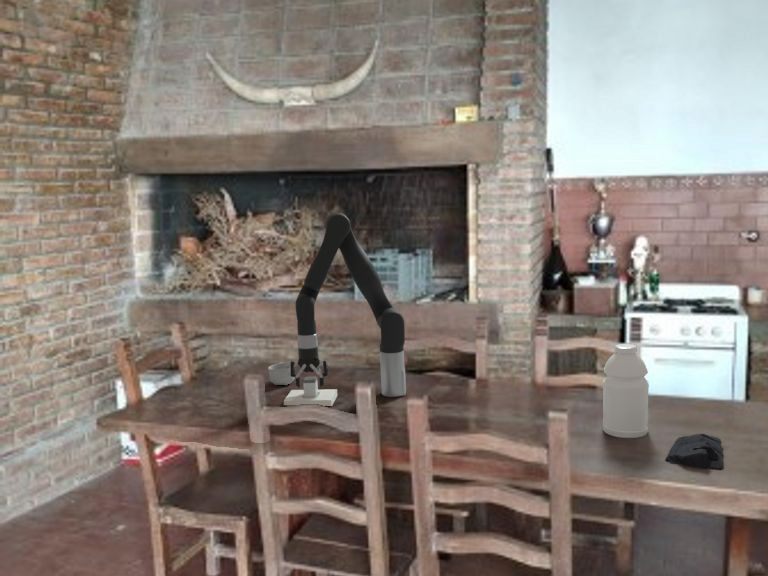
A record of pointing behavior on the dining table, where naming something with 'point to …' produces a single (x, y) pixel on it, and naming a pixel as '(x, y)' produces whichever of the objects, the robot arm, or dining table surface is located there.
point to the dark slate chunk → (697, 452)
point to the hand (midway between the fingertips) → (310, 387)
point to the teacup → (280, 373)
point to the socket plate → (324, 398)
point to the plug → (310, 387)
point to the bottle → (625, 394)
